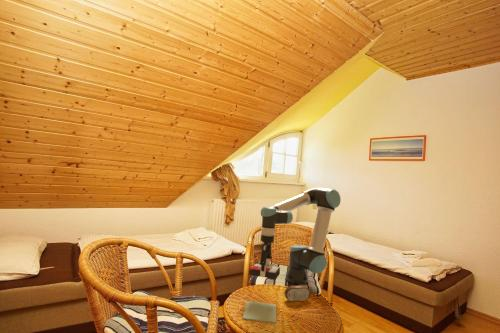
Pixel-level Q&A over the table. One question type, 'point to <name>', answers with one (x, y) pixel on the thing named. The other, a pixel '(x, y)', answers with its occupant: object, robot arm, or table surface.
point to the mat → (260, 312)
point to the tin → (297, 293)
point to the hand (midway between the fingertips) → (264, 273)
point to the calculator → (270, 271)
